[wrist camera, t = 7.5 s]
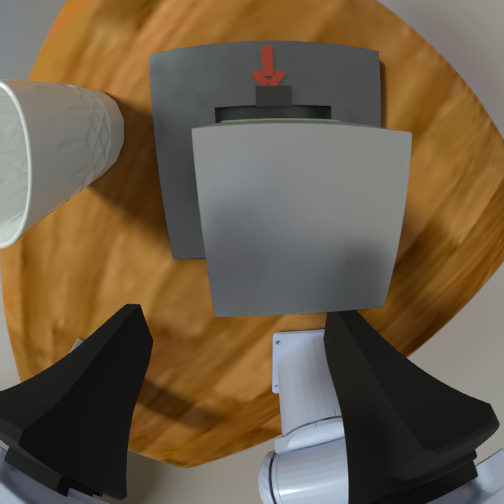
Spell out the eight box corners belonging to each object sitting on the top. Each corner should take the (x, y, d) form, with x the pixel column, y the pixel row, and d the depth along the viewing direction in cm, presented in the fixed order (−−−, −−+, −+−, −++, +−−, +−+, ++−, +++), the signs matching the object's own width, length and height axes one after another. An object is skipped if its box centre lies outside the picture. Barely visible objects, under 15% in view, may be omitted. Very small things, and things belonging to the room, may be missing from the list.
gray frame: (364, 245, 20) (389, 280, 15) (176, 252, 20) (157, 290, 16) (372, 53, 13) (407, 40, 9) (154, 57, 13) (123, 42, 9)
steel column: (322, 207, 12) (385, 307, 6) (233, 210, 13) (213, 318, 6) (324, 118, 10) (413, 130, 4) (227, 120, 11) (188, 126, 4)
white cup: (69, 71, 13) (-35, 70, 4) (152, 102, 15) (54, 101, 6) (39, 164, 16) (-52, 210, 7) (111, 203, 18) (25, 277, 9)
